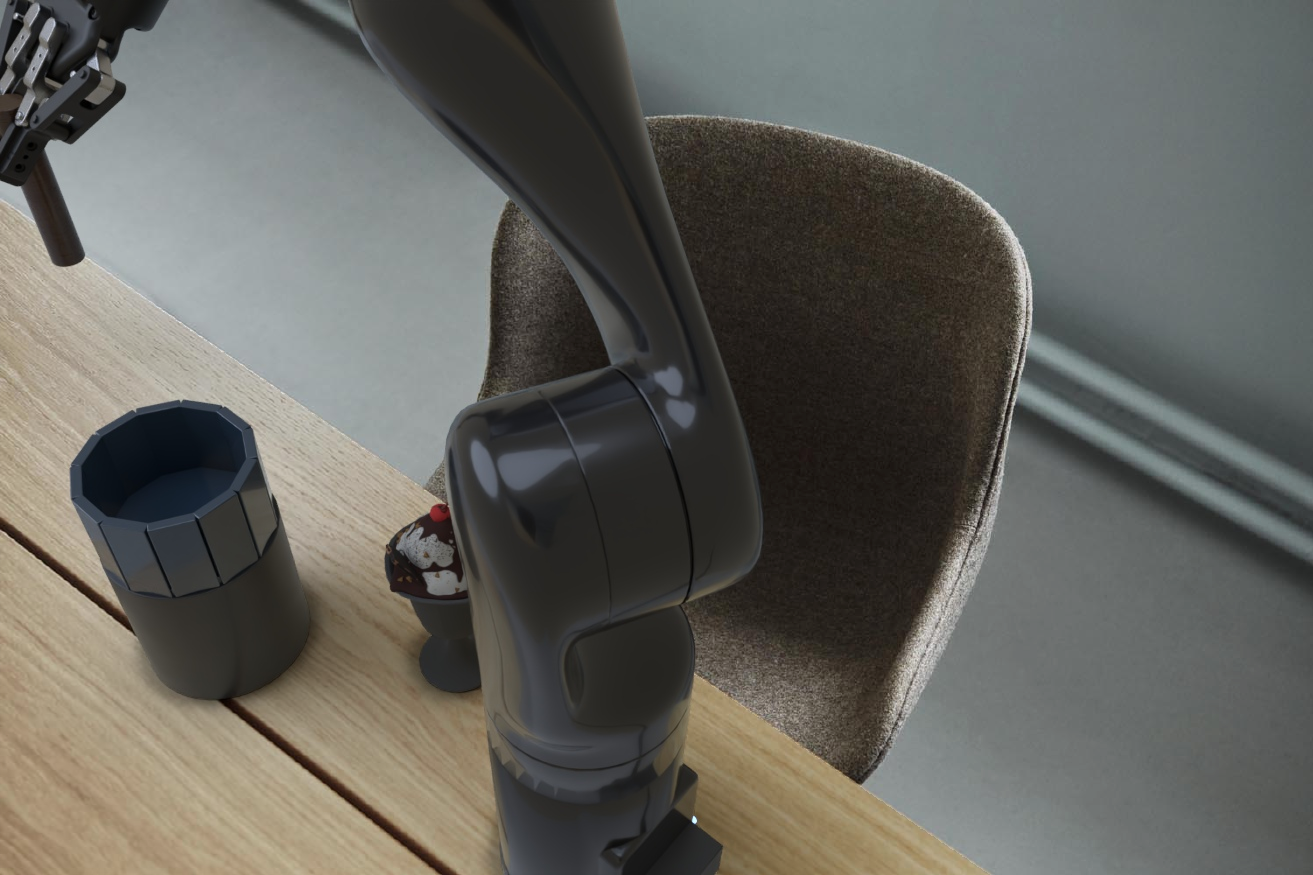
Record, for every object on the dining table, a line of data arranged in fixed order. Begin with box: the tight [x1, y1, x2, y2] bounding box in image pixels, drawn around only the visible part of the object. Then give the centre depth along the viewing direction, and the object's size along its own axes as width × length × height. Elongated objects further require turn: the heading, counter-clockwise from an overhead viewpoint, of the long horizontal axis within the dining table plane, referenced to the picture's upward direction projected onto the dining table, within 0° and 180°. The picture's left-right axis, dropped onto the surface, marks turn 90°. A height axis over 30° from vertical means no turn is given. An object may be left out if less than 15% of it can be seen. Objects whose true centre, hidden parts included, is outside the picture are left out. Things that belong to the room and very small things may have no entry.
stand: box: [99, 492, 311, 701], centre depth 67 cm, size 10×10×10 cm
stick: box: [0, 94, 86, 268], centre depth 76 cm, size 2×2×12 cm
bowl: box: [68, 399, 278, 598], centre depth 62 cm, size 9×9×6 cm
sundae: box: [383, 501, 481, 693], centre depth 65 cm, size 7×7×15 cm
